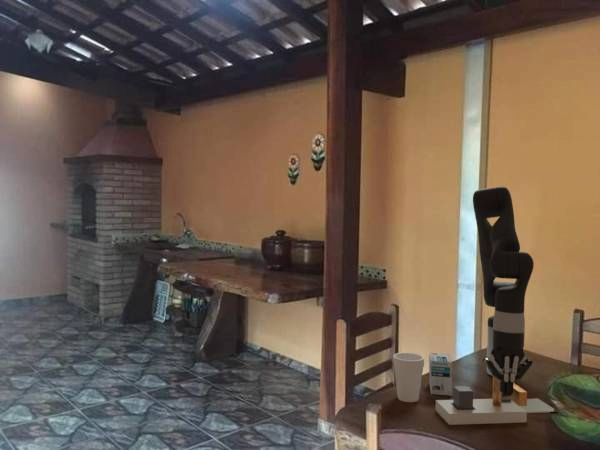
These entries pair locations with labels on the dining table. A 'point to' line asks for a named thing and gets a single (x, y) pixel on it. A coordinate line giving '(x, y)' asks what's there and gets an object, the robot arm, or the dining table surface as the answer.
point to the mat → (536, 406)
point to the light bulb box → (440, 374)
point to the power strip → (482, 412)
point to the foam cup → (408, 375)
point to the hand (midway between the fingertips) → (506, 395)
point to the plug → (462, 398)
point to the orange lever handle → (517, 396)
